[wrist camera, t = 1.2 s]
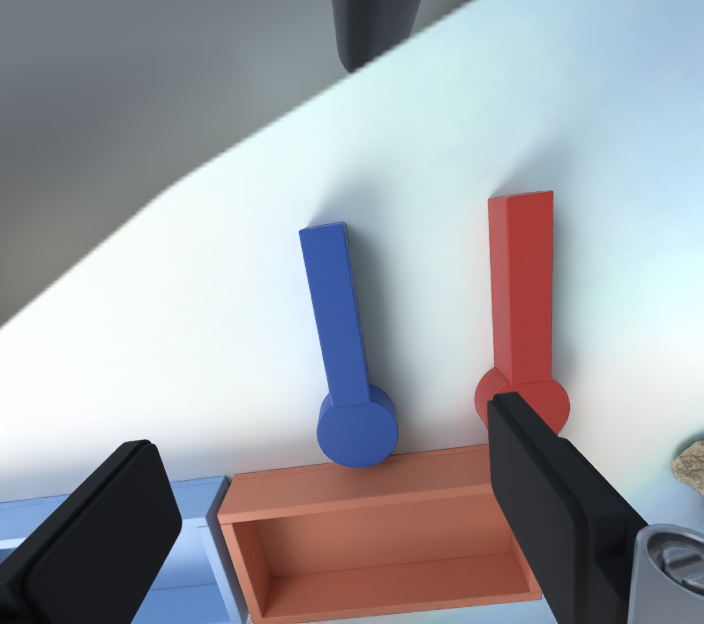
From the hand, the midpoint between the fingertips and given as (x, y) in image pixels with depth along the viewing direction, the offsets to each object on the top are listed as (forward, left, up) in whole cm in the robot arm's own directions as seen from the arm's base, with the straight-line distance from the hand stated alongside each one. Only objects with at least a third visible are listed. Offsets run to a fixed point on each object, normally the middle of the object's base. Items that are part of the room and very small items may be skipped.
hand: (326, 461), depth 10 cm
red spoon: (+1, +9, -10) cm, 13 cm away
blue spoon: (+1, 0, -10) cm, 10 cm away
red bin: (+13, +1, -10) cm, 16 cm away
